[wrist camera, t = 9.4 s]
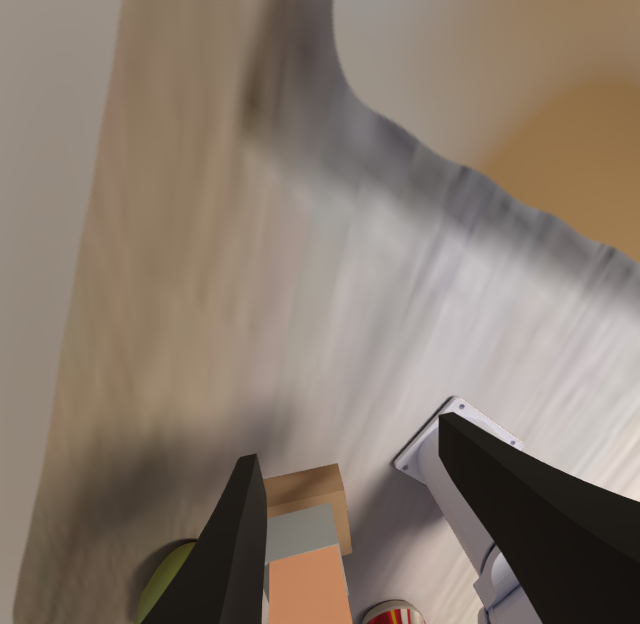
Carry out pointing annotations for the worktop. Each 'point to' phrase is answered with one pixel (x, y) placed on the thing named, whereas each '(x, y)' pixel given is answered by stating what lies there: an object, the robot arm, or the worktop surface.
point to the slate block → (300, 536)
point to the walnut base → (311, 497)
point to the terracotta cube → (308, 589)
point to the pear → (161, 580)
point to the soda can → (394, 614)
